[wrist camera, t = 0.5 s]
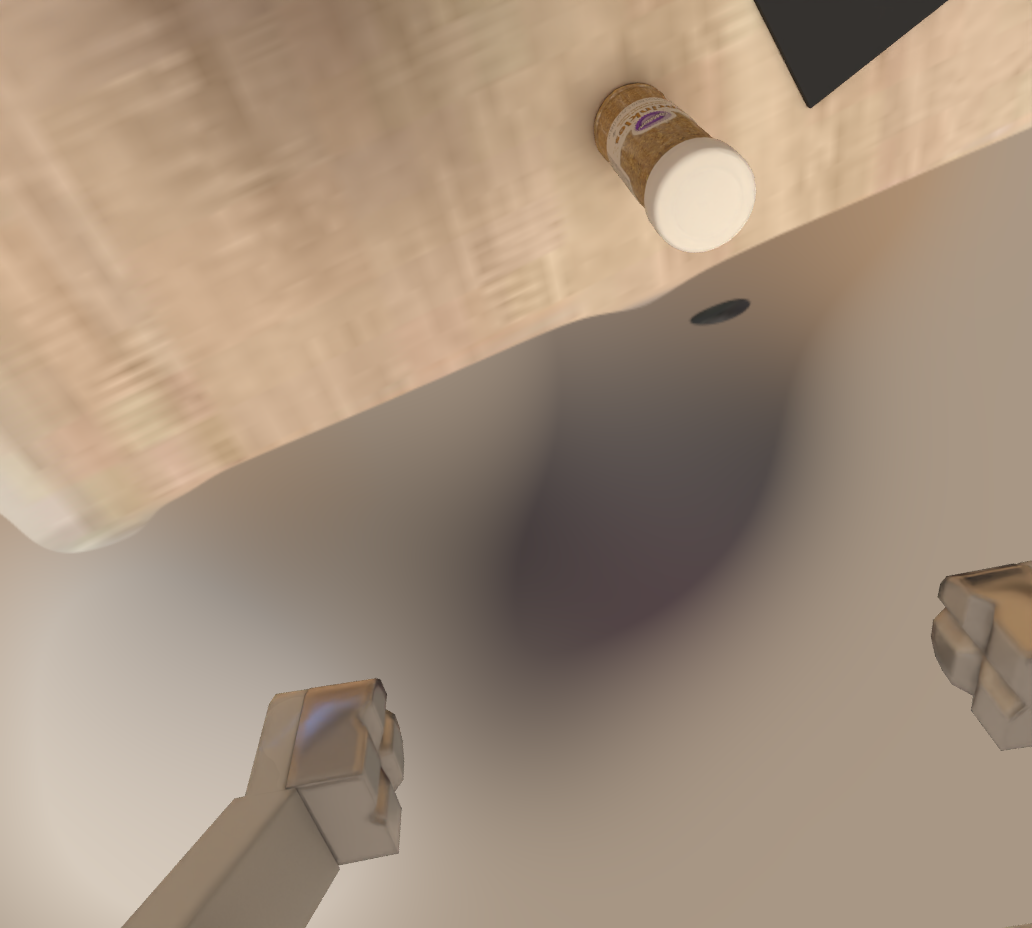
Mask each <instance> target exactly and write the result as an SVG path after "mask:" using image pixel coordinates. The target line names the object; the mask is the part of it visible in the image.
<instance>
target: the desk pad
mask: <svg viewBox="0 0 1032 928" xmlns="http://www.w3.org/2000/svg"><path fill="white" fill-rule="evenodd" d="M754 1H755V3H756V5H757V7H758V9H759V11H760V13H761V15H762V17H763V19H764V21H765V23H766V25H767V27H768V29H769V31H770V33H771V35H772V37H773V39H774V41H775V43H776V45H777V47H778V49H779V51H780V53H781V55H782V57H783V59H784V61H785V63H786V65H787V67H788V69H789V71H790V73H791V75H792V77H793V79H794V81H795V83H796V85H797V87H798V89H799V91H800V93H801V95H802V97H803V99H804V101H805V103H806V105H807V107H809V108H812V107H813V106H815V105H816V104H817V103H818V102H820V101H821V100H822V99H823V98H825V97H826V96H827V95H829V94H830V93H831V92H832V91H834V90H835V89H836V88H837V87H839V86H840V85H841V84H842V83H844V82H845V81H846V80H848V79H849V78H850V77H851V76H853V75H854V74H855V73H856V72H858V71H859V70H860V69H861V68H863V67H864V66H865V65H867V64H868V63H869V62H870V61H872V60H873V59H874V58H875V57H877V56H878V55H879V54H880V53H882V52H883V51H884V50H886V49H887V48H888V47H889V46H891V45H892V44H893V43H894V42H896V41H897V40H898V39H900V38H901V37H902V36H903V35H905V34H906V33H907V32H908V31H910V30H911V29H912V28H913V27H915V26H916V25H917V24H919V23H920V22H921V21H922V20H924V19H925V18H926V17H927V16H929V15H930V14H931V13H932V12H934V11H935V10H936V9H938V8H939V7H940V6H941V5H943V4H944V3H945V2H946V1H948V0H754Z"/></svg>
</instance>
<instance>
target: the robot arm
mask: <svg viewBox="0 0 1032 928" xmlns="http://www.w3.org/2000/svg"><path fill="white" fill-rule="evenodd" d="M938 598H939V599H940V601H941V602H942V603H943V604H944V606H945V608H944V609H943V610H942V611H941V612H940V613H939V614H938V615H937V617H936V618H935V619H934V620H933V626H932V634H931V639H932V644H933V649H934V653H935V657H936V659H937V661H938V663H939V665H940V667H941V669H942V671H943V672H944V673H945V675H946V676H947V678H948V679H949V681H950V682H951V684H952V685H954V686H956V687H958V688H960V689H962V690H964V691H965V692H968V693H969V694H971V695H973V698H972V707H971V711H972V712H973V714H974V715H975V716H976V718H977V719H978V720H979V722H980V723H981V725H982V726H983V727H984V728H985V730H986V731H987V733H988V734H989V735H990V737H991V738H992V739H993V741H994V742H995V743H996V745H997V746H998V748H999V749H1000V750H1001V751H1003V750H1010V749H1017V748H1024V747H1030V746H1032V561H1027V562H1021V563H1018V564H1009V565H1004V566H999V567H993V568H988V569H982V570H978V571H972V572H967V573H961V574H956V575H951V576H946V578H945V579H944V580H943V581H942V583H941V584H940V588H939V593H938ZM386 699H387V693H386V691H385V689H384V687H383V684H382V682H381V680H380V679H376V678H375V679H368V680H362V681H354V682H348V683H341V684H335V685H328V686H321V687H315V688H310V689H306V690H300V691H292V692H286V693H279V694H276V695H275V696H274V698H273V699H272V701H271V702H270V704H269V706H268V710H267V714H266V718H265V721H264V726H263V729H262V733H261V737H260V741H259V744H258V748H257V752H256V756H255V760H254V764H253V767H252V771H251V775H250V779H249V783H248V786H247V791H246V794H245V796H244V797H239V798H235V799H234V800H233V801H232V802H231V803H230V804H229V805H228V807H227V808H226V809H225V810H224V811H223V812H222V813H221V815H220V816H219V817H218V818H217V819H216V820H215V821H214V823H213V824H212V825H211V826H210V827H209V828H208V829H207V831H206V832H205V833H204V834H203V835H202V836H201V837H200V839H199V840H198V841H197V842H196V843H195V844H194V845H193V847H192V848H191V849H190V850H189V851H188V852H187V853H186V854H185V856H184V857H183V858H182V859H181V860H180V861H179V862H178V864H177V865H176V866H175V867H174V868H173V869H172V871H171V872H170V873H169V874H168V875H167V876H166V877H165V878H164V880H163V881H162V882H161V883H160V884H159V885H158V886H157V888H156V889H155V890H154V891H153V892H152V893H151V894H150V895H149V897H148V898H147V899H146V900H145V901H144V902H143V904H142V905H141V906H140V907H139V908H138V909H137V910H136V911H135V913H134V914H133V915H132V916H131V917H130V918H129V920H128V921H127V922H126V923H125V924H124V925H123V926H122V927H121V928H305V927H306V925H307V924H308V922H309V920H310V919H311V917H312V915H313V914H314V912H315V910H316V909H317V907H318V905H319V904H320V902H321V900H322V898H323V897H324V895H325V893H326V892H327V890H328V888H329V886H330V885H331V883H332V881H333V880H334V878H335V876H336V875H337V873H338V871H339V870H340V869H339V866H338V865H343V864H348V863H353V862H358V861H363V860H368V859H373V858H378V857H383V856H388V855H393V854H398V853H399V840H400V825H401V809H402V808H401V806H400V803H399V801H398V799H397V796H396V794H395V791H396V789H397V788H398V786H399V785H400V784H401V782H402V781H403V777H404V776H403V775H404V753H403V740H402V736H401V732H400V727H399V724H398V721H397V719H396V716H395V714H393V713H391V712H390V711H388V710H386ZM1006 928H1032V923H1030V924H1024V925H1018V926H1012V927H1006Z"/></svg>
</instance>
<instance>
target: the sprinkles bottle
mask: <svg viewBox="0 0 1032 928" xmlns="http://www.w3.org/2000/svg"><path fill="white" fill-rule="evenodd" d="M594 136H595V141H596V144H597V148H598V150H599V152H600V153H601V154H602V155H603V157H604V158H605V159H606V160H607V161H608V162H610V164H611V166H612V167H613V169H614V170H615V172H616V173H617V174H618V176H619V177H620V178H621V179H622V181H623V182H624V183H625V185H626V186H627V187H628V189H629V190H630V191H631V193H632V194H633V195H634V197H635V198H636V199H637V201H638V202H639V203H640V204H641V205H642V206H643V207H644V208H645V211H646V214H647V217H648V219H649V221H650V223H651V224H652V226H653V227H654V229H655V230H656V231H657V232H658V234H659V235H660V236H661V237H662V238H663V239H664V240H665V241H666V242H667V243H668V244H669V245H671V246H672V247H674V248H676V249H678V250H681V251H685V252H692V253H698V252H706V251H709V250H713V249H715V248H718V247H720V246H722V245H723V244H725V243H727V242H728V241H729V240H731V239H732V238H733V237H734V236H735V235H736V234H738V232H739V231H740V230H741V229H742V228H743V226H744V225H745V224H746V222H747V220H748V219H749V217H750V215H751V212H752V210H753V207H754V203H755V197H756V183H755V177H754V174H753V171H752V169H751V168H750V166H749V164H748V163H747V161H746V160H745V159H744V158H743V157H742V156H741V155H740V154H739V153H738V152H737V151H736V150H734V149H733V148H732V147H731V146H729V145H728V144H726V143H725V142H723V141H721V140H718V139H714V138H712V137H711V136H710V135H709V134H708V133H707V132H705V131H704V130H703V129H702V128H701V127H699V126H698V124H697V123H696V122H695V121H694V120H693V119H692V118H691V117H689V116H688V115H687V114H686V113H685V112H683V111H682V110H681V109H680V108H679V107H677V106H676V105H675V104H673V103H672V102H670V101H668V100H666V99H665V97H664V95H663V94H662V93H661V92H660V91H658V90H657V89H656V88H654V87H653V86H650V85H647V84H641V83H635V84H629V85H625V86H622V87H620V88H618V89H615V90H614V91H613V92H612V93H611V94H610V95H609V96H608V97H607V98H606V99H605V100H604V102H603V104H602V106H601V107H600V109H599V111H598V113H597V115H596V120H595V124H594Z"/></svg>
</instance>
